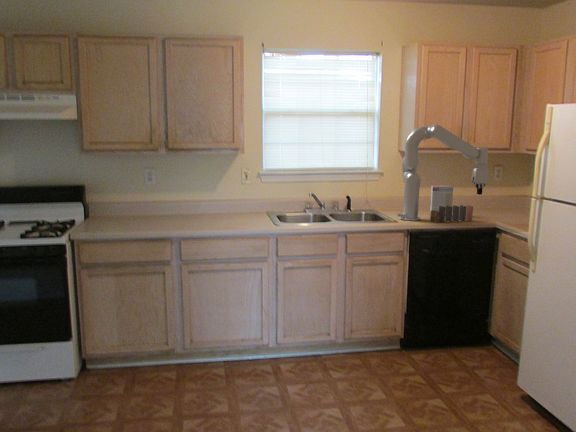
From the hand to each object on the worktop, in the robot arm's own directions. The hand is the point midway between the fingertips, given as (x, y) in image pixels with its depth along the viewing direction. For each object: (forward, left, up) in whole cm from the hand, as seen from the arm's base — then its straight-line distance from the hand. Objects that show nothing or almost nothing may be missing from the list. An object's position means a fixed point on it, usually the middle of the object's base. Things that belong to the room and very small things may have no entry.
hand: (479, 194), depth 336 cm
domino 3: (-16, 0, -18) cm, 24 cm away
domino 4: (-11, 0, -17) cm, 21 cm away
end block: (-31, 0, -17) cm, 36 cm away
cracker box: (-14, +22, -18) cm, 32 cm away
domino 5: (-6, 0, -17) cm, 19 cm away
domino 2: (-21, 0, -17) cm, 28 cm away
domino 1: (-26, 0, -18) cm, 32 cm away
